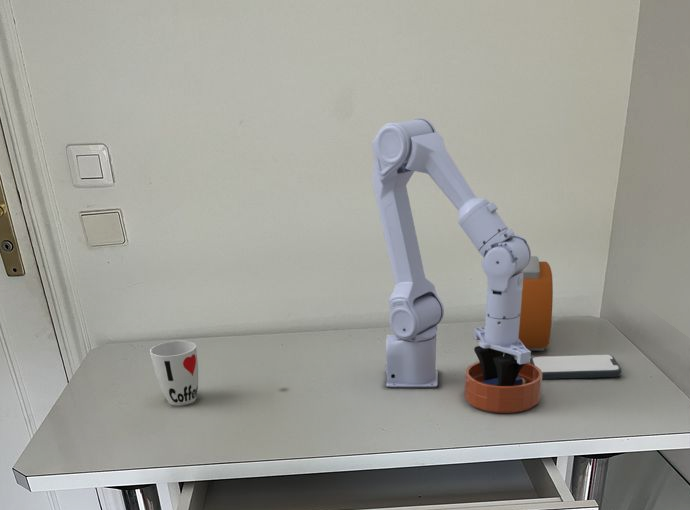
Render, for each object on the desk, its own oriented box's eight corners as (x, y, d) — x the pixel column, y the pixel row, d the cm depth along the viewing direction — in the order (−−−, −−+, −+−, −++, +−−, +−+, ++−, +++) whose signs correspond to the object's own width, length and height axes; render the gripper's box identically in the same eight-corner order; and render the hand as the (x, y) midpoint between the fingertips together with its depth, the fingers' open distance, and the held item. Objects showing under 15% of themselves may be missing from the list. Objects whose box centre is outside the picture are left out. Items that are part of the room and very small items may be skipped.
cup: (166, 412, 130) (156, 359, 125) (155, 397, 136) (144, 346, 131) (210, 402, 133) (201, 350, 128) (197, 388, 140) (188, 337, 134)
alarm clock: (500, 320, 167) (504, 244, 158) (540, 320, 166) (547, 244, 157) (503, 356, 147) (508, 273, 139) (548, 357, 146) (557, 272, 137)
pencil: (481, 403, 127) (482, 387, 126) (473, 398, 129) (474, 382, 128) (529, 392, 131) (530, 377, 129) (520, 387, 133) (522, 372, 131)
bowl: (465, 414, 125) (466, 387, 122) (463, 384, 136) (464, 358, 134) (543, 414, 124) (546, 387, 121) (535, 384, 135) (538, 358, 132)
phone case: (534, 381, 137) (622, 378, 135) (535, 373, 136) (623, 370, 135) (528, 364, 144) (611, 361, 143) (529, 356, 143) (612, 353, 142)
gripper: (460, 306, 126) (457, 379, 133) (507, 330, 115) (501, 409, 122) (494, 300, 129) (490, 372, 136) (544, 323, 117) (536, 400, 124)
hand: (497, 389), depth 129 cm, fingers open, 4 cm apart
